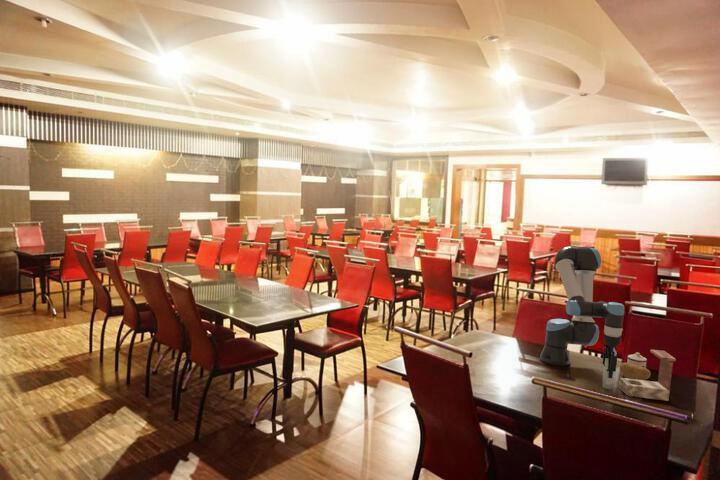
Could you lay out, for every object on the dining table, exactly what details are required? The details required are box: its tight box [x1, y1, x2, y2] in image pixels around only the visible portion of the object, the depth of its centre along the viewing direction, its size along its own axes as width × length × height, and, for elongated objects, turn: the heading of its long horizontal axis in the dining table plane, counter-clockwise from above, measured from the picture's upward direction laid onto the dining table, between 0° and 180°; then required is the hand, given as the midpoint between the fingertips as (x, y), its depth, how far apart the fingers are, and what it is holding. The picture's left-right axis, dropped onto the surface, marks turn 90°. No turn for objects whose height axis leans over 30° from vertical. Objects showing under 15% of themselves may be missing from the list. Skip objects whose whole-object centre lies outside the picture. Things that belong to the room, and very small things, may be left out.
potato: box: [619, 362, 652, 381], centre depth 243 cm, size 10×14×8 cm
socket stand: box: [618, 349, 677, 402], centre depth 224 cm, size 18×12×20 cm, turn 80°
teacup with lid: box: [626, 352, 648, 369], centre depth 253 cm, size 12×9×12 cm
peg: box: [602, 358, 612, 390], centre depth 230 cm, size 4×4×14 cm
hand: (607, 382), depth 230 cm, fingers closed on peg, 4 cm apart
